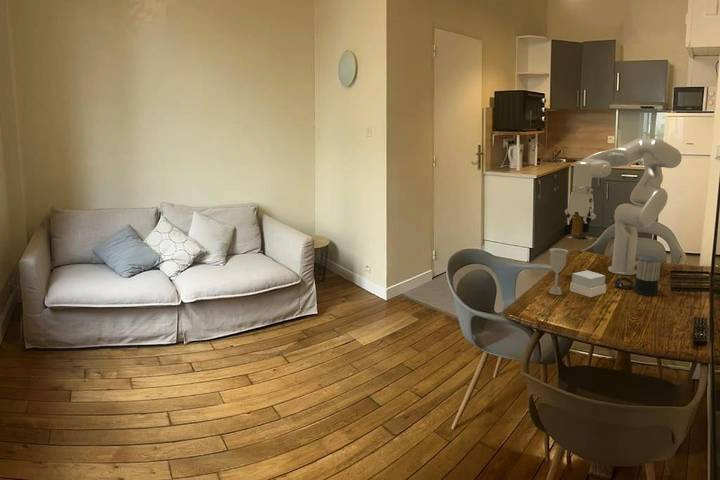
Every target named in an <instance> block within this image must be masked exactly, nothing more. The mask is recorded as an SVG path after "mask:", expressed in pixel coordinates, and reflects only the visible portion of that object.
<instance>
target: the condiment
mask: <svg viewBox="0 0 720 480" xmlns="http://www.w3.org/2000/svg"><path fill="white" fill-rule="evenodd" d="M586 219H587V218H586ZM583 224H584V220H583V217H581V216H580V215H579V213H578V212H575V214H574V216H573V220H572V230H571V234H570V235H571V236H567V238H568V239H574V240H579V241H589V240H593V237H590V236H587V232H585V233H583V232H582V231H583Z"/></svg>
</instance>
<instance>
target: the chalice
mask: <svg viewBox="0 0 720 480" xmlns="http://www.w3.org/2000/svg"><path fill="white" fill-rule="evenodd" d="M549 252H550V254H549V255H550V256H549V263H550V266H551V269H552V271H553V272H554V273H555V275H554V281H553V282H554V285H553V286H551V287H550V289H549V291H548V293H549V294H551V295H555V296H556V295H562V294H563V292H562V288H561V287H560V286H558V283H559V282H560V281H559V278H560V277H559V273H562V271H563V269H564V268H565V266H566V263H567V254H568V253H569V250H568V249H564V248H558V247H557V248H555V247H554V248H553V247H552V248H549Z"/></svg>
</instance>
